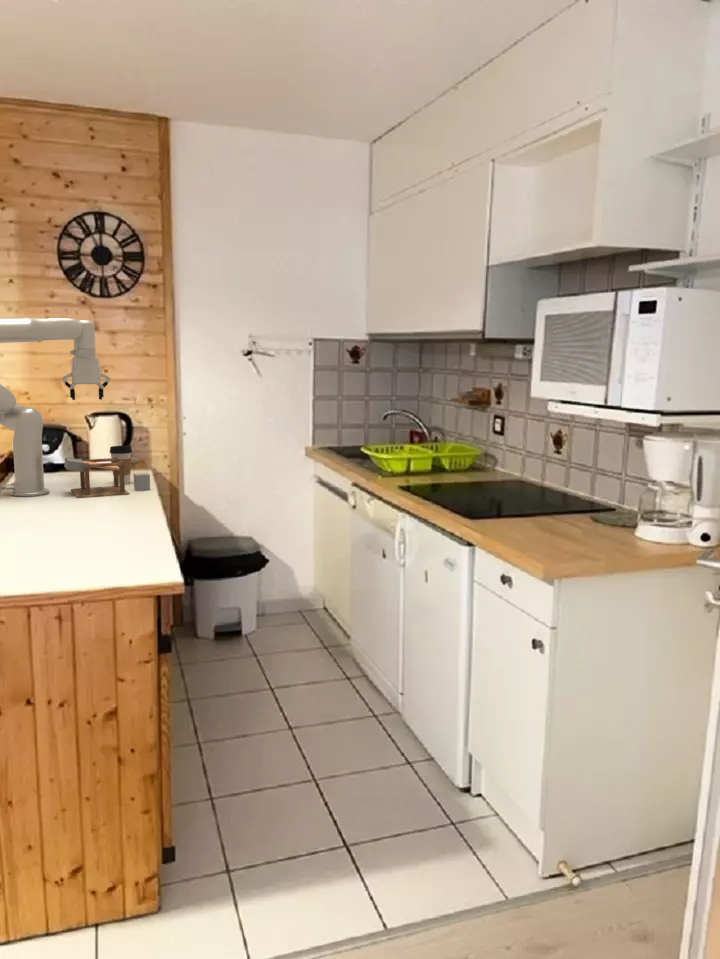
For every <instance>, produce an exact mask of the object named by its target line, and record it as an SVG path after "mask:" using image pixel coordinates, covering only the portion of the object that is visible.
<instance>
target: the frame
mask: <svg viewBox="0 0 720 959" xmlns="http://www.w3.org/2000/svg"><path fill="white" fill-rule="evenodd" d="M78 459H81V460H82V461H89V462H97V463H103V464H89V463H84V472H81V471H79V478H80V479H79V480H80V487H79V488H78V487H77V488H71V489H70V491H71V492H72V494H73V496H74V497H75V498H76V499H84V498H97V497H112V496H125V495H130V492H129V491H128V490H127V489H125V488H126V486H125V485H126V484H125V483H124V461H119V463H118V461H117V457H113V458H110V457H109V458H92V459H90V458H89V459H87V458H86V459H84V458H82V457H81V458H78ZM111 461H113V463H111ZM105 462H106V463H105ZM106 466H119V474H120V485H118V470H112V474H113V473H114V476H113V485H109V486H108V485H107V486H96V487H95V486H92V487H91V484H90V483H91V482H90V468H94V467H106Z"/></svg>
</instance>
